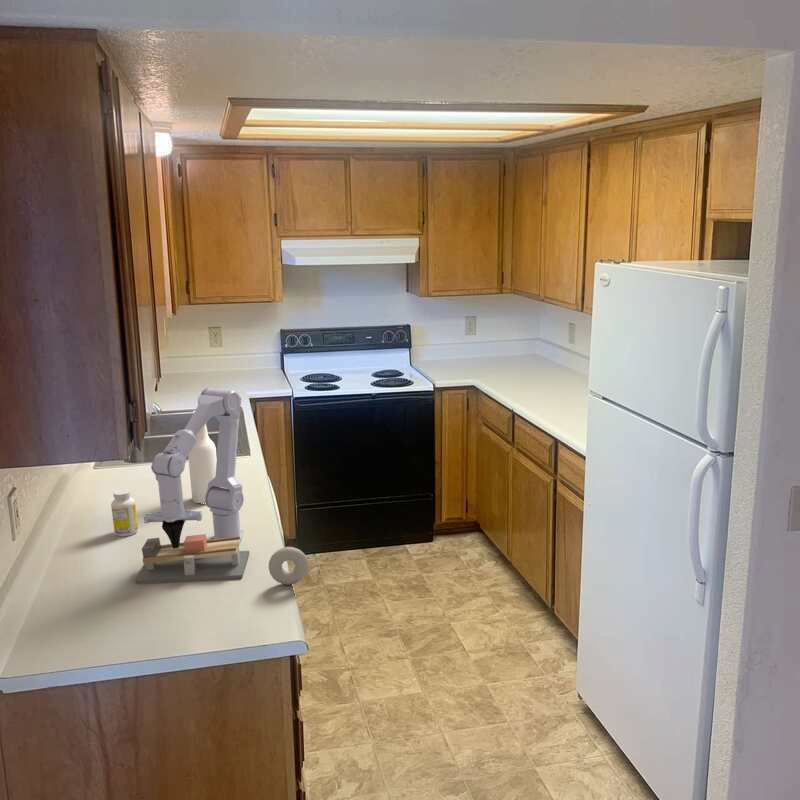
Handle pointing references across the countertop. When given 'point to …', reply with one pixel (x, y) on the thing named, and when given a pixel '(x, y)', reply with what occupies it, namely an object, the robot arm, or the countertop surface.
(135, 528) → the supplement bottle
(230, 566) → the tilt stand
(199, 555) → the beam
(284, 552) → the donut
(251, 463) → the countertop surface
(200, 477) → the alcohol
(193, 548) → the block
